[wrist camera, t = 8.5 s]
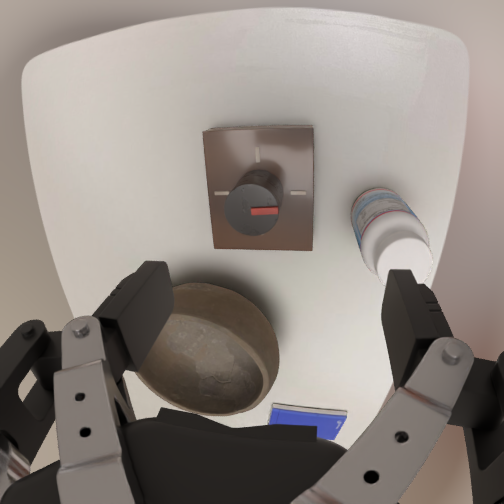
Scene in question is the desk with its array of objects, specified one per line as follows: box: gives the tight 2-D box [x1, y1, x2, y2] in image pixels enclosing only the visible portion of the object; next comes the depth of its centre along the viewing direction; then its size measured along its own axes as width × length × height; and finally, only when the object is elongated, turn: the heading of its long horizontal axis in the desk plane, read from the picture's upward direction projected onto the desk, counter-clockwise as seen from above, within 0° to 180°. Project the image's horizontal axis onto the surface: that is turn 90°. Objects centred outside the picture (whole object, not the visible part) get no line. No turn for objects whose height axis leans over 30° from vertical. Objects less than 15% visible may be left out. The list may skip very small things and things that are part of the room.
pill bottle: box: [351, 188, 433, 287], centre depth 27 cm, size 6×6×11 cm
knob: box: [224, 170, 283, 236], centre depth 28 cm, size 4×4×5 cm
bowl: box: [135, 283, 279, 416], centre depth 37 cm, size 17×18×10 cm
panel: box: [203, 125, 314, 251], centre depth 31 cm, size 12×10×3 cm
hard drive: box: [268, 404, 347, 440], centre depth 49 cm, size 2×8×12 cm
